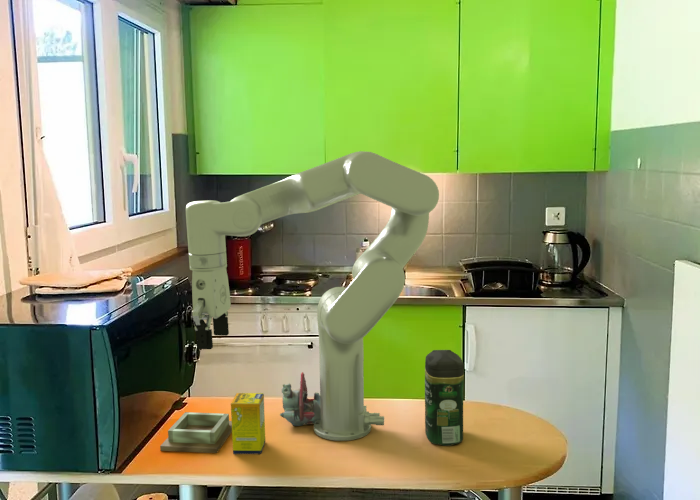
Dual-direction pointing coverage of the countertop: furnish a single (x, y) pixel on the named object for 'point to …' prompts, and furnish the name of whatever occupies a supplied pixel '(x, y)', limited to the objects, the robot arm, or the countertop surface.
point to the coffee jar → (444, 397)
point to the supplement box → (248, 423)
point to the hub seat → (198, 433)
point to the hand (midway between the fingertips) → (213, 341)
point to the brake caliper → (300, 405)
